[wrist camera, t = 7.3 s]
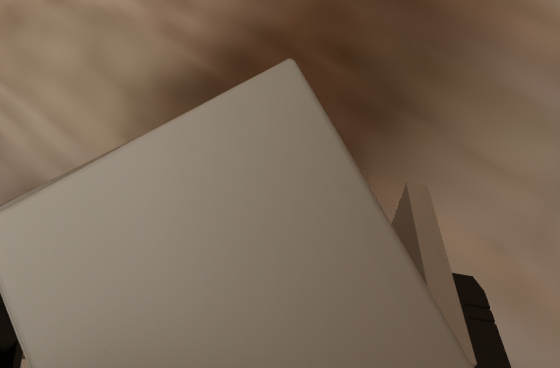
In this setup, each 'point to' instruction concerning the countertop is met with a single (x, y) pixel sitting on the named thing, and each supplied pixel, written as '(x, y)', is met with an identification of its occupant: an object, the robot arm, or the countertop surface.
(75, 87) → the countertop surface
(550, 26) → the countertop surface
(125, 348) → the supplement box
